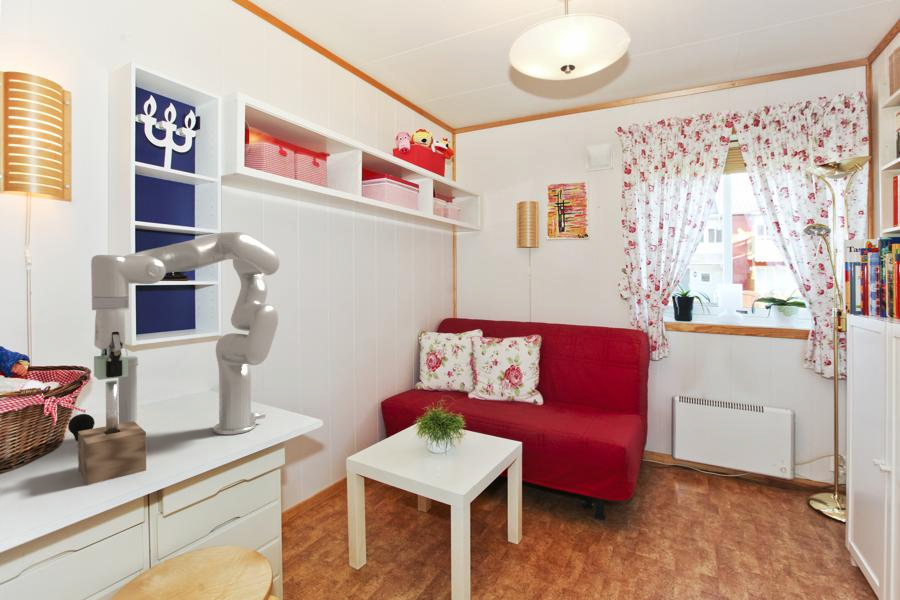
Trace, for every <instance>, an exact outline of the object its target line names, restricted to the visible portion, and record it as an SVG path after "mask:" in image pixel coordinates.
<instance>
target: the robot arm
mask: <svg viewBox="0 0 900 600" xmlns="http://www.w3.org/2000/svg"><path fill="white" fill-rule="evenodd" d="M227 260H232V265H233V268H234V271H236V274H237V276H238V277H239V281H240V290H239V294H238V296H237V299H236V302H235V304H234V308H233V310H232V314H231V316H230V323H231V326H233V328H235V329H236V330H240V331H243V332H244V331H245V332H248V334H246V333H245V334H244V333H236V332H235V333H234V332H233V333H227V334H224V335H223V336H221V337H220V338H218V340H217V342H216V346H215V355H216V356H215V357H216V361H217V365H218V423H217V424H215V425H214V426H213V432H214V433H215V434H218V435H237V434H243V433H248V432H250V431H251V430H254V429H255V428H256V426H257V423H256V421H257V420H261V419H265V418H266V413H265V412H252V411H251V410H252V408H251V407H252V404H251V403H252V372H251V369H250V366H257V365H260V364H262V363H263V362H264V361H265V360H266V359H267V357H268V355H269V352H270V351H271V347H272V344H273V341H274V338H275V335H276V332H277V327H278V325H279V316H278V312H277V309H276V308H275V307H274V306H272V305H271V304H268V303H266V300H267V295H268V285H267V282H266V279H265V278H264V276H272V275H273V274H276V272H277V271H278V270H279V268H280V258H279V257H278V254H277V253H276V252H275V251H274V250H272V249H271V248H270V247H268V246H266V245H265V244H263V243H262V242H260V241H259V240H257V239H255V238H254V237H252V236H250V235H248V234H246V233H244V232H240V231H237V232H236V231H233V232H218V233H213V234H209V235H206V236H202V237H198V238H195V239H191V240H186V241H183V242H178V243H172V244H170V245H166V246H162V247H161V246H160V247H155V248H152V249H151V248H150V249H146V250H141V251H137V252H135V253H134V252H133V253H130V254H127V255H124V256H123V255H116V254H114V255H113V254H96V255H94V256H92V258H91V261H90V269H91V270H90V271H91V275H90V276H91V279H90V280H91V310H92V311H95V316H94V317H95V318H94V319H95V320H94V338H93V339H94V343H93V345H94V346H95V347H96V348H98V349H99V350H101V351H100V356H104V355H107V359H108V361H106V377H108V378H109V377H118V376H122V354H123V353H122V349H123V348H124V349H125V347H126V319H125V318H126V316H125V311H127V310H130V298H129V297H130V295H129V293H130V292H129V291H130V289H129V288H130V285H129V284H137V285H154V284H156V283H159V282H160V281H161V280H163V279H164V277H165V276H166V274H167V273H174V272H175V273H176V272H190V271H195V270H199V269H201V268H204V267H207V266H210V265H214V264H217V263H220V262H223V261H227Z"/></svg>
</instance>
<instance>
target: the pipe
mask: <svg viewBox="0 0 900 600" xmlns="http://www.w3.org/2000/svg"><path fill="white" fill-rule="evenodd" d="M124 349H125V352H126V356H127V357H128V376H127V377H119V378H117V392H118V424H122V423H127V422H133V421H134V422H135V423H137V424H138V425H139V426H140V424H139V423H138V391H137V390H138V380H137V379H138V378H137V375H138V374H137V373H138V372H137V370H138V369H137V368H138V367H137V366H138V365H139V359H138V358H139V357H138V356H134V355H131V356H129V355H128V350H127V348H126V346H125V347H124Z"/></svg>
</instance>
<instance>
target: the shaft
mask: <svg viewBox="0 0 900 600" xmlns="http://www.w3.org/2000/svg"><path fill="white" fill-rule="evenodd" d="M118 424H119V397H118V380H107V381H105V426H106V435H107V434H113V433H118Z"/></svg>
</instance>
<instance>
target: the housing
mask: <svg viewBox="0 0 900 600" xmlns="http://www.w3.org/2000/svg"><path fill="white" fill-rule="evenodd" d="M137 423H138V422H137ZM137 423H135V422H134V421H133V422H127V423H122V424H119V423H118V433H113V434H107V435H106V425H105V426H102V427H101V426H99V427H95V428H94V427H93V429H89V430H83V431H78V447H77V449H78V450H77V451H78V453H77V454H78V457H77V458H78V459H77V460H78V461H77V462H78V471H79V473H80V475H81V477H82V479H83V481H84V482H85V484H86V485H87V486H89V485H93V484H98V483H101V482H105V481H109V480H113V479H117V478H120V477H121V478H122V477H125V476H129V475H134V474H136V473H140V472H144V471H147V432H146V431H145V430H144V429H143V428H142V427H141V426H140V424H139V423H138V424H139V425H138V424H137Z"/></svg>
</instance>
